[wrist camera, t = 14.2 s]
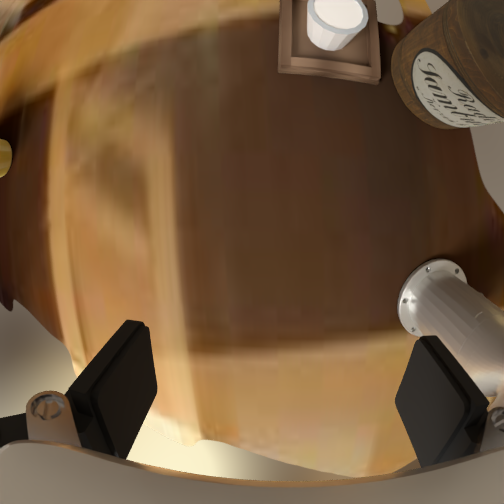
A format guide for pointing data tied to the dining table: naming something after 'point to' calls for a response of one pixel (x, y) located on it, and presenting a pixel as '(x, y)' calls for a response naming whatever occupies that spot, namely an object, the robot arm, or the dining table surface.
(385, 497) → the robot arm
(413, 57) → the wooden container
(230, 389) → the dining table surface
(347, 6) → the white cup
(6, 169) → the plant pot
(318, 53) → the square wooden tray
